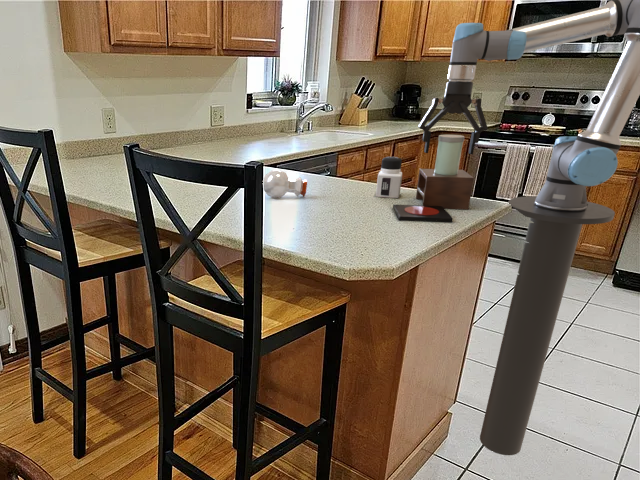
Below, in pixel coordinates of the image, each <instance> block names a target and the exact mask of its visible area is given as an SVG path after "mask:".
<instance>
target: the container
mask: <svg viewBox="0 0 640 480" xmlns="http://www.w3.org/2000/svg"><path fill="white" fill-rule="evenodd" d="M402 162H403V160H402V158H401V157H398V156H385V157H383V158H382V159H381V164H380V165H381V167H380V171H378V173H377V179H376V190H375V196H376V198H388V199H389V198H390V199H399V198H400V194H401V187H402V182H403V181H402V179H403V172H402V170H401V169H402Z"/></svg>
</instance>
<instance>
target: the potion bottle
mask: <svg viewBox="0 0 640 480" xmlns="http://www.w3.org/2000/svg"><path fill="white" fill-rule="evenodd" d="M263 179H264V188H263V191H264V192H265V194H266V195H267V196H268V197H270V198H273V199H279V198H283V196H285V195H286V194H287V193H293V194H294V195H295V196H296V197H297V198H299V197H300V195H301V196H302V197H303V198H305V197H306V196H305V195H306V194H307V187H308V180H307V178H305V179H302V178H301V177H300V176H299V177H298V178H295V179H291V178H289V177H288V175H287V172H286V171H283V170H280V169H272V170H270V171H269V172H268V173H266V174H264V177H263Z"/></svg>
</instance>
